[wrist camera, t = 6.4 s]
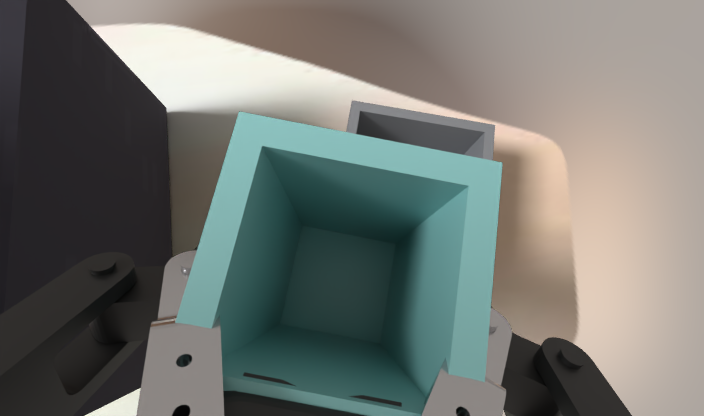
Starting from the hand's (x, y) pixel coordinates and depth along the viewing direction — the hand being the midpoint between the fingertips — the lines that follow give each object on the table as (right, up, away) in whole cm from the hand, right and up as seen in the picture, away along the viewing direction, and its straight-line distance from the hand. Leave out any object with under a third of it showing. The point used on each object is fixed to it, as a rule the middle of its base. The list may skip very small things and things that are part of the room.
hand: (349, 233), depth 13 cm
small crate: (-1, -3, +4) cm, 5 cm away
